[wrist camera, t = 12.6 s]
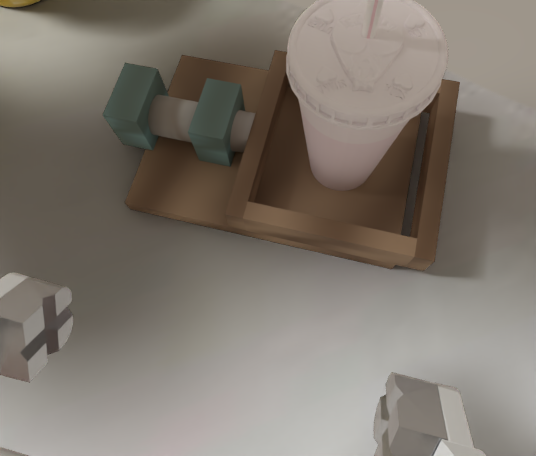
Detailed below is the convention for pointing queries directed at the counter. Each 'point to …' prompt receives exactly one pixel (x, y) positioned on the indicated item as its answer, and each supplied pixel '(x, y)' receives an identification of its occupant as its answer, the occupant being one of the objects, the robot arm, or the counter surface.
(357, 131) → the smoothie
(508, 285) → the counter surface
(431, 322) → the counter surface
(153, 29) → the counter surface
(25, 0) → the plant pot
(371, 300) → the counter surface
